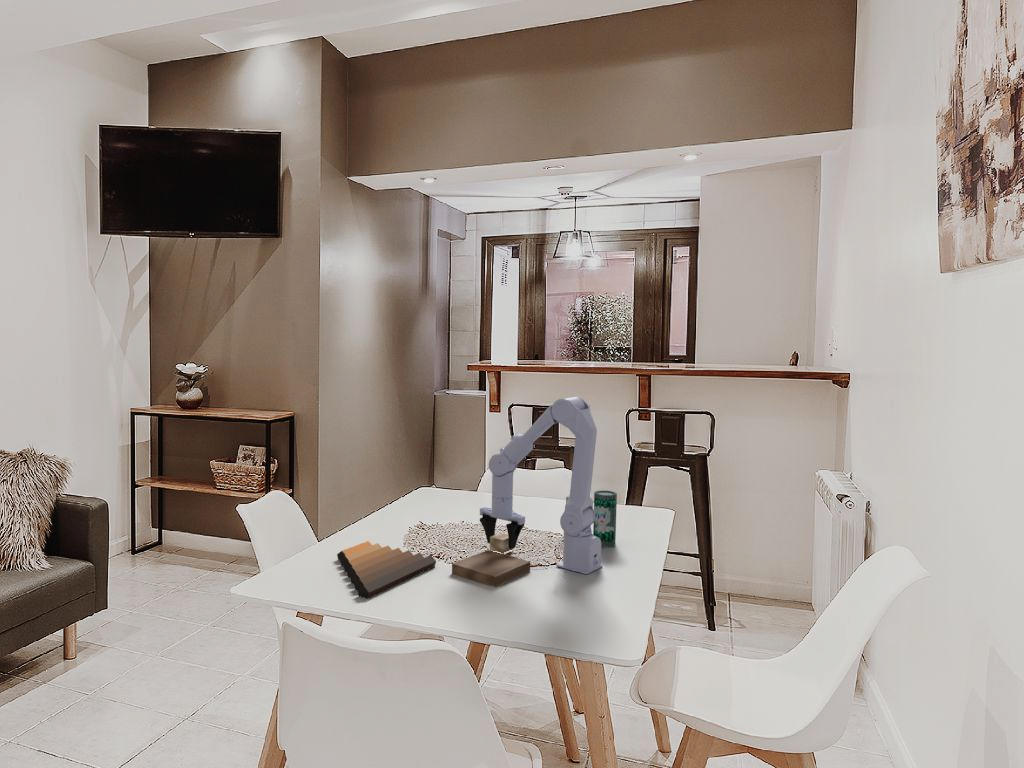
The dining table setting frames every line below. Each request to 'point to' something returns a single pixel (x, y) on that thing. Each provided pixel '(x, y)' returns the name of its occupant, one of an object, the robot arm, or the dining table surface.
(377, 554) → the pan flute
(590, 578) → the dining table surface
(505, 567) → the walnut base
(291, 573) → the dining table surface
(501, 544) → the maple block
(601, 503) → the can
